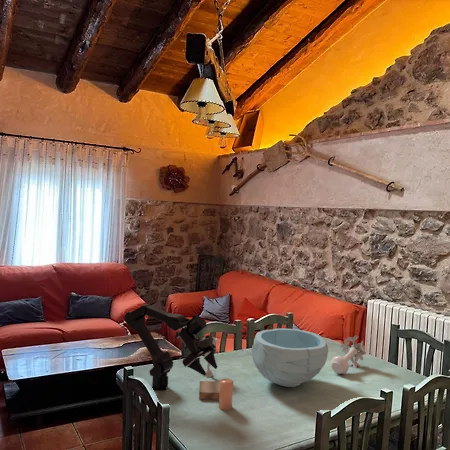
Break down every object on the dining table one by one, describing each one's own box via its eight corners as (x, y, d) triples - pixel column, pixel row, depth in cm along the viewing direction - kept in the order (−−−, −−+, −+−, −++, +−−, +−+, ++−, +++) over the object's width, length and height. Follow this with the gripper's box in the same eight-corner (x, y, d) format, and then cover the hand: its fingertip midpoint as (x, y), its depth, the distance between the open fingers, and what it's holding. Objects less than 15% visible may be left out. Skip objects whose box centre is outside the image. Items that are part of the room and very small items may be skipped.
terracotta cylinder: (218, 410, 176) (220, 383, 175) (218, 404, 181) (219, 378, 181) (232, 410, 176) (233, 384, 176) (231, 404, 182) (232, 378, 181)
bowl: (300, 367, 229) (302, 326, 228) (340, 395, 196) (343, 347, 195) (239, 373, 216) (241, 330, 215) (271, 404, 183) (274, 353, 183)
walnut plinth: (199, 399, 185) (199, 392, 185) (199, 387, 197) (199, 381, 197) (226, 399, 186) (227, 392, 186) (225, 388, 198) (225, 381, 198)
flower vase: (345, 389, 219) (367, 365, 236) (349, 359, 212) (371, 337, 230) (322, 377, 227) (345, 355, 245) (326, 348, 221) (348, 327, 238)
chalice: (202, 378, 208) (203, 341, 207) (199, 372, 215) (200, 336, 214) (216, 377, 210) (218, 340, 209) (213, 371, 217) (215, 336, 216)
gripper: (189, 335, 176) (211, 367, 171) (213, 325, 192) (234, 355, 187) (173, 350, 180) (194, 382, 175) (197, 339, 196) (217, 368, 191)
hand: (211, 371), depth 182 cm, fingers open, 9 cm apart
